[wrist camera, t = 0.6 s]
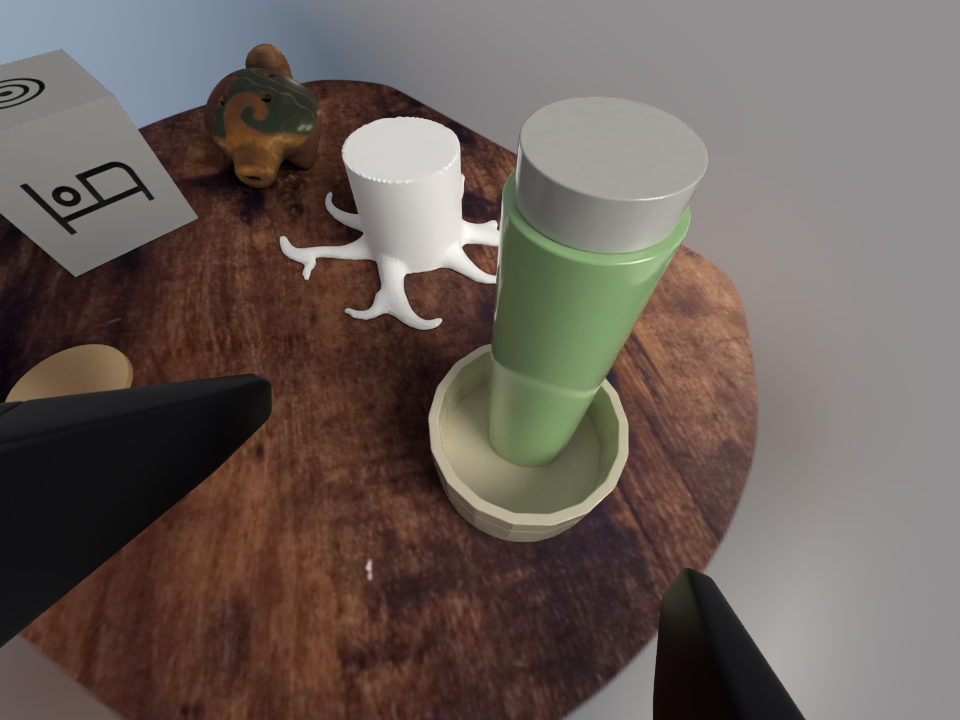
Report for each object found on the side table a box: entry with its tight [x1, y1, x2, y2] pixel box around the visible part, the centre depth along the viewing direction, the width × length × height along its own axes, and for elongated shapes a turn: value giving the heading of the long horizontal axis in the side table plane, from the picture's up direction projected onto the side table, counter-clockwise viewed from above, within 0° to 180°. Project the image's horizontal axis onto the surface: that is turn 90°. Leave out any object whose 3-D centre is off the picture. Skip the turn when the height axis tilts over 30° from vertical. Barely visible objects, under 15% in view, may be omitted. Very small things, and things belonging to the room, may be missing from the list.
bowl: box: [428, 344, 628, 542], centre depth 22 cm, size 10×10×5 cm
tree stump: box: [280, 117, 500, 330], centre depth 31 cm, size 20×19×8 cm
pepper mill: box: [486, 96, 708, 468], centre depth 17 cm, size 5×5×17 cm
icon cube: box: [0, 49, 198, 277], centre depth 31 cm, size 10×10×10 cm
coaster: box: [5, 344, 133, 402], centre depth 26 cm, size 7×7×1 cm
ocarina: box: [204, 44, 322, 188], centre depth 37 cm, size 10×15×8 cm, turn 9°
